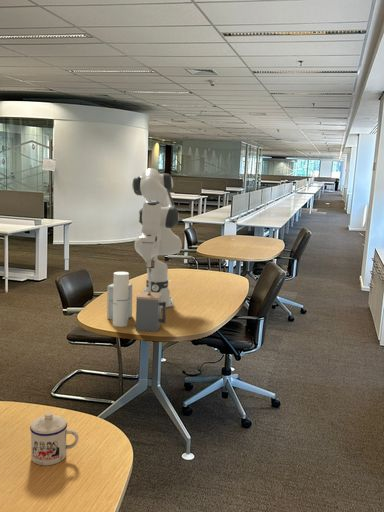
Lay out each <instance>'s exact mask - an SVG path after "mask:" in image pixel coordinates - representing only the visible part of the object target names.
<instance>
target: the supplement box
mask: <svg viewBox="0 0 384 512" xmlns="http://www.w3.org/2000/svg"><path fill="white" fill-rule="evenodd" d="M106 288H107V291H106V292H107V295H106V297H107V300H106V304H107V308H106V309H107V311H106V314H107V315H106V316H107V318H108V319H110V320H113V283H111V284H109V285H107V287H106ZM132 317H133V284H132V283H129V294H128V319H129V318H132Z"/></svg>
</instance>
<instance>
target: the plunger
mask: <svg viewBox="0 0 384 512" xmlns="http://www.w3.org/2000/svg"><path fill="white" fill-rule="evenodd" d="M151 263H152V264H151V267H147V260H146V262H145V269H147V268H149V282H148V295H151V268H155V260H151Z"/></svg>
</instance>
